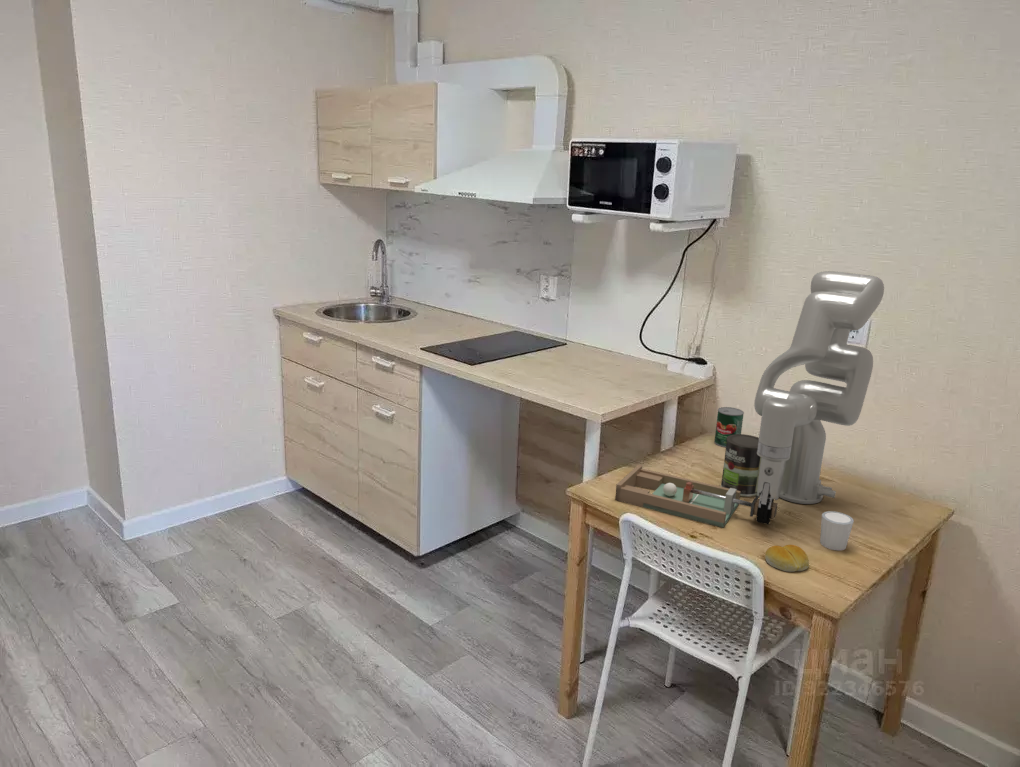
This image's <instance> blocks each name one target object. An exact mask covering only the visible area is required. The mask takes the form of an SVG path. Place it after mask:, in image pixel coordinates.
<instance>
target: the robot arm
mask: <svg viewBox="0 0 1020 767" xmlns="http://www.w3.org/2000/svg"><path fill="white" fill-rule="evenodd" d="M884 292H885V284H884V281H883V280H882V279H881V278H880V277H878V276H875V275H871V274H870V275H867V274H860V273H850V272H845V271H833V270H832V271H830V270H829V271H827V270H825V271H824V270H823V271H820V272H817V273H815V274H814V275H813V276H812V278H811V281H810V293H809V294H808V295H807V297H806V298H805V300H804V302H803V305H802V308H801V311H800V315H799V318H798V321H797V325H796V327H795V332H794V333H793V337H792V342H791V343H790V346H789V347H788V349H787V350H786V351H784V352H783V353H782V354H780V355H779V356H777V357H775V359H774V360H773V361H771V362H770V364H768V365H767V367H766V369H765V370H764V371H763V373H762V375H761V378H760V382H759V384H758V387H757V390H756V393H755V397H754V404H753V406H754V411H755V412H756V413H757V415H759V416H761V419H760V420H761V421H760V426H759V432H758V433H759V434H758V438H759V441H758V448H757V454H758V455H759V456H760V457H761V463H760V469H759V477H758V486H757V495H756V496H758V498H759V499H760V500H759V506H758V509H757V516H756V515H755V516H756V518H755V521H756V522H755V523H760V524H765V525H770V523H771V520H772V519H771V512H772V509H771V504H772V502H775V501H778V500H779V498H780V499H782V500H784V501H788V502H791V503H795V504H800V505H801V504H803V505H814V504H817V503H818V504H819V503H820V502H821V501H823V497H828V498H832V499H835V498H836V492H837V491H836V490H833V487H831V486H825V485H823V484H822V479H820V476H821V470H822V464H823V459H824V457H823V456H824V452H825V446H826V440H827V433H826V430H825V427H824V425H823V423H822V422H826V423H827V422H828V423H832V424H837V425H841V426H853V425H854V424H856V423H857V421H858V420H859V417H861V416H860V415H861V413H862V409H863V405H864V402H865V398H866V396H867V395H866V394H867V391H868V388H869V384H870V381H871V377H872V373H873V368H874V357H873V353H872V352H871V351H870V350H869V349H867V348H866V347H863V346H857V345H851V344H848V340H849V336H850V332H851V331H858V330H860V329H862V328H863V327H865V325H866V324H867V322H868V321H869V319H871V317H872V315H873V313H874V312H875V311H876V310H877V308H878V307H879V305H880V304H881V302H882V299H883V297H884V294H885V293H884ZM803 365H804V366H805V367H804V369H805V371H806V372H807V373H808V374H810V375H812V376H814V377H819V378H821V379H827V380H832V381H838V382H842V383H845V384H846V385H845V386H840V385H836V384H831V383H827V382H823V381H822V382H821V381H816V380H809V379H802V380H798V381H796V382H794V383H793V384H792V386H791V387H790V389H789V391H788V390H785V389H780V388H775V385H776V383H777V381H778V379H780V377H781V376H782V375H783V373H785V372H787V371H789V370H792V369H793V368H796V367H799V366H803Z"/></svg>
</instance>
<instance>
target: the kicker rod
mask: <svg viewBox="0 0 1020 767" xmlns="http://www.w3.org/2000/svg"><path fill="white" fill-rule="evenodd" d="M692 483H693V482H687V483H686V487H685V488H684V491H683V500H682V501H685V502H689V501H690V500H691V499H692V498H693V493H695V494H699V495H703V496H707V497H711V498H715V499H720V500H724V501H725V496H722V495H718V494H713V493H709V492H705V491H701V490H696V489H694V485H692ZM753 498H754V499H753V500H752V502H751V501H746V500H742V499H740V500H739V499H734V498H733V502H732V503H736V504H739V505H740V506H746V507H748V508H749V507H750V512H749V513H750V514H749V517H752V518H753V517H754V516H757V509H758V506H759V500H760V498H759V497H758V496H757V495H756V496H754V497H753ZM778 504H779V503H778V502H775V501H774V502H772V504H771V509H772V512H771V519H770V520H773V521H774V519H775V518H776V516H777V510H778Z"/></svg>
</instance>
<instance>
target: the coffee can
mask: <svg viewBox="0 0 1020 767" xmlns="http://www.w3.org/2000/svg"><path fill="white" fill-rule="evenodd" d="M726 441H727V444H726V447H725V453H724V462H723V468H722V469H723V470H722V476H721V482H720V487H724V488H729V489H730V488H734V489H737V491H741V493H740V497H743V498H745V497H756V496H757V486H758V477H759V469H760V463H761V457H760V456H759V455H758V454H757V448H758V441H759V436H756V435H750V434H744V433H743V434H742V433H741V434H734V435H730V436H728V437H727V439H726Z"/></svg>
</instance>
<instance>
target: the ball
mask: <svg viewBox="0 0 1020 767" xmlns="http://www.w3.org/2000/svg"><path fill="white" fill-rule="evenodd" d="M663 492H664V494H665V495H667V496H674V495H675V494H676V492H677V488H676V486H675V485H674V484H673V483H667V484H665V485H664V487H663Z"/></svg>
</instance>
